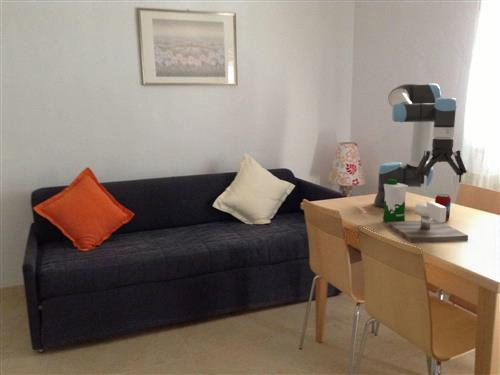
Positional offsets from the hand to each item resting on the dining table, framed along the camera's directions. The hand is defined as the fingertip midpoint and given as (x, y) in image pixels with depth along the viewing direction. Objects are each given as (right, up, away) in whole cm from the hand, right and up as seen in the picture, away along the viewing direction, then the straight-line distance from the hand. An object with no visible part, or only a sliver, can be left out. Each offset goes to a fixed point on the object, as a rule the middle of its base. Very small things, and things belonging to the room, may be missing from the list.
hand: (439, 191), depth 176 cm
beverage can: (+15, -14, +33) cm, 39 cm away
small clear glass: (-1, -16, +13) cm, 20 cm away
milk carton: (-8, -15, +30) cm, 34 cm away
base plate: (-1, -18, +13) cm, 22 cm away
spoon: (0, -11, +7) cm, 13 cm away
